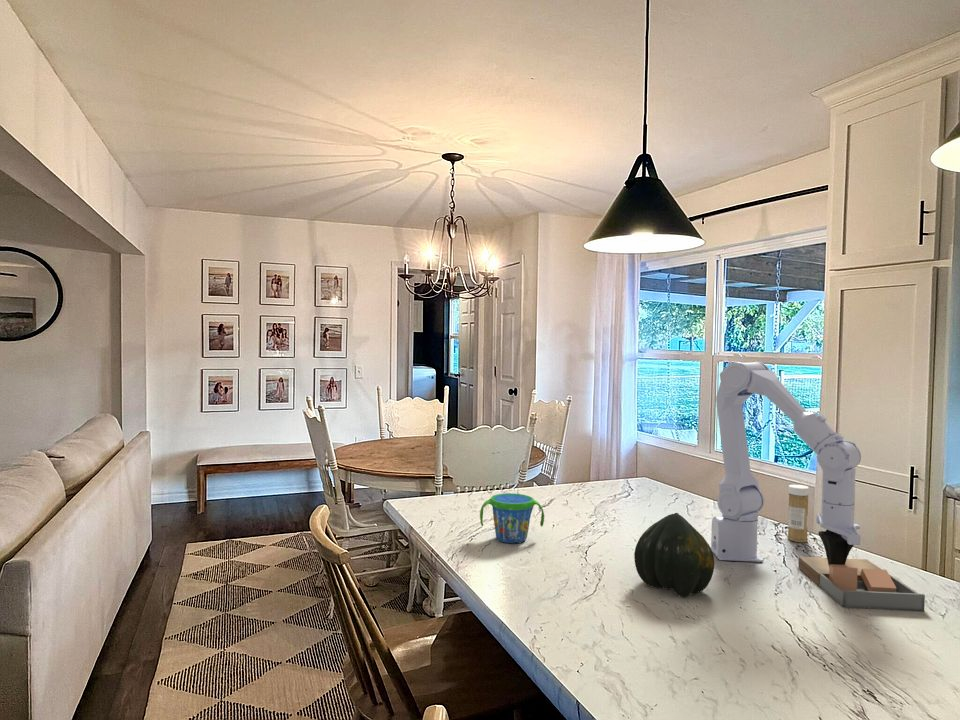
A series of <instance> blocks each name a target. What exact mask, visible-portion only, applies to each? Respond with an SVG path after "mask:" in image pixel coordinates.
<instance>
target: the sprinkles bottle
mask: <svg viewBox="0 0 960 720" xmlns="http://www.w3.org/2000/svg"><path fill="white" fill-rule="evenodd" d="M787 490H788V492H787V493H788V508H787V509H788V510H787V511H788V512H787V513H788V514H787V515H788V517H787V519H788V520H787V528H788V529H787V539H788V541H789V540H790V541H791V542H795V543H800V544H801V543H807V542H809V541H808V540H809V538H808V534H809V533H808V528H809V515H808V513H809V496H810V487H809V486H808V485H803V484H789V485H788V489H787Z"/></svg>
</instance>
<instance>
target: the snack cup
mask: <svg viewBox="0 0 960 720" xmlns="http://www.w3.org/2000/svg"><path fill="white" fill-rule="evenodd" d="M487 505H491V507H492V514H493V515H492V516H493V525H494V531H495V538H496V540H498V541H499V542H502V543H505V544H506V543H507V544H515V543H519V544H521V543H522V542H524V541H526V540H527V539H528V535H529V529H530V523H531V516H532V511H533V509H534V506H535V505H537V506H538V508H539V509H540V512H541V515H540V516H541V517H540V522H539V524H540V527H541V528H542V527H543V526H544V522H545V511H544V509H543V507H542V505H541V503H539V502H538V501H537V500H535V499H534V498H533V497H532V496H529V495H526V494H522V493H521V494H520V493H513V492H512V493H510V492H509V493H499V494H494V495H492V496H491V497H490V498H489V499H487V500H485V501H484V502H483V504H482V505H481V508H480V510H479V511H480V512H479V520H480V524H481V526H482V527H484V521H483V518H484V517H483V516H484V508H485V507H486V506H487Z"/></svg>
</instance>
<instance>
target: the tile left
mask: <svg viewBox="0 0 960 720" xmlns="http://www.w3.org/2000/svg"><path fill="white" fill-rule="evenodd" d="M857 569H858V568H856V567H855V566H854V565H833V564H829V580H830V581H832V582H833V583H834V584H835V585H836V586H838V587H839V588H840V589H841V590H852V591H857Z"/></svg>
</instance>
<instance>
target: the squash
mask: <svg viewBox="0 0 960 720" xmlns="http://www.w3.org/2000/svg"><path fill="white" fill-rule="evenodd" d="M633 557H634V565H635V569H636V572H637V574H638V576H639V577H640V579H641V581H642V582H643V583H644V584H646V585H647V586H648V587H651V588H655V589H665V590H666V591H667V590H668V591H670V590H673V592H674V594H675V595H677V596H679V597H681V598H685V597H688V596H690V595H692V594H699V593H701V592H703V591H704V590H705V589H706V588H707V587H708V585H709V584H710V582H711V580H712V578H713V575H714V570H715V557H714V553H713V551H712V549H711V545H710V544H709V543H708V541H707V540H706V538H705V537H704V536H703V535H702V534H701V532H699V531H698V530H697V529H696V528H695V527H694V526H693V525H692V524H691V523H690V522H689V521H688V520H687V519H686V518H685V517H684V516H682V515H680V513H678V512H675V513H671V514H668V515H666V516H664V517H663V518H661V519H659V520H658V521H656V522H655V523H653V524H652V525H650V526H649V527H648V528H647V529H646V530H644V532H643V533H642V534H641V535H640V537H639V539H638V540H637V543H636V546H635V548H634V553H633Z"/></svg>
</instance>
